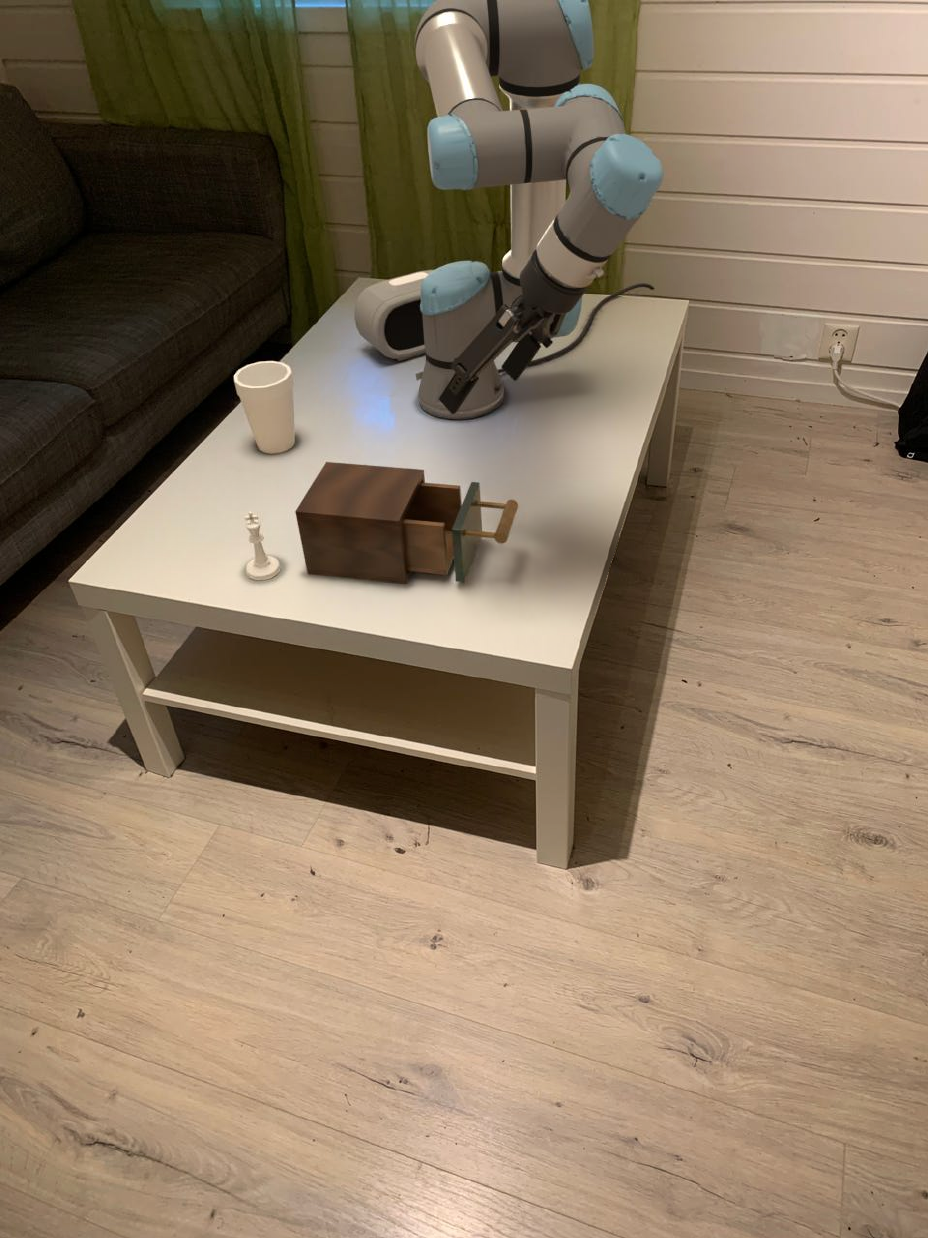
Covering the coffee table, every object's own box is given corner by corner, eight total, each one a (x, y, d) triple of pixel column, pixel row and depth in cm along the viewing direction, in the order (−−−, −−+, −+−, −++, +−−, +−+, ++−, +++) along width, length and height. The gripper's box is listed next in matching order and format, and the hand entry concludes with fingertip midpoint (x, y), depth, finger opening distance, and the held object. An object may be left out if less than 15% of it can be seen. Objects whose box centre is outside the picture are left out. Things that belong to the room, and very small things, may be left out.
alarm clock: (380, 369, 191) (372, 301, 182) (358, 351, 197) (350, 284, 188) (473, 340, 198) (470, 274, 189) (449, 324, 204) (445, 258, 196)
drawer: (521, 537, 146) (520, 485, 140) (505, 586, 138) (504, 534, 132) (393, 525, 150) (387, 474, 144) (370, 572, 142) (362, 520, 136)
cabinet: (429, 531, 150) (424, 469, 143) (406, 584, 141) (399, 521, 134) (336, 522, 153) (326, 461, 146) (307, 573, 144) (295, 511, 137)
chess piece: (248, 561, 147) (234, 504, 140) (281, 557, 147) (269, 500, 140) (245, 581, 143) (230, 524, 137) (279, 578, 143) (266, 521, 137)
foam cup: (293, 460, 168) (279, 389, 159) (241, 456, 169) (224, 386, 161) (310, 431, 175) (298, 362, 166) (260, 428, 176) (246, 359, 168)
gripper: (522, 319, 107) (438, 443, 123) (638, 265, 123) (551, 380, 139) (475, 269, 107) (398, 398, 124) (597, 221, 124) (514, 341, 140)
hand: (479, 389), depth 131 cm, fingers open, 13 cm apart
